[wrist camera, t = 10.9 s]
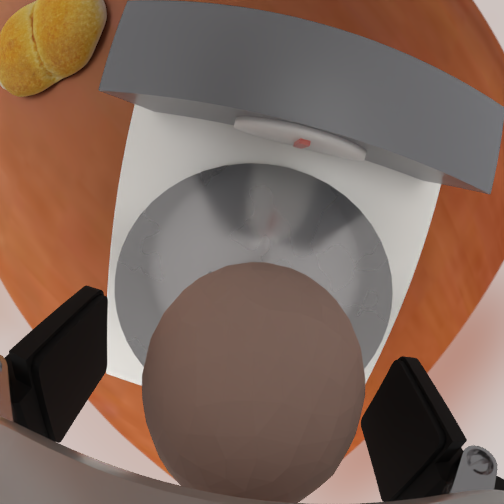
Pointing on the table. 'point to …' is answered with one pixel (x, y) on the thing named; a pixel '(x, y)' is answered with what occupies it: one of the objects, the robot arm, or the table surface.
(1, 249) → the table surface
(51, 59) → the bread roll
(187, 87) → the kitchen scale
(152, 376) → the egg
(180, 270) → the scale pan
